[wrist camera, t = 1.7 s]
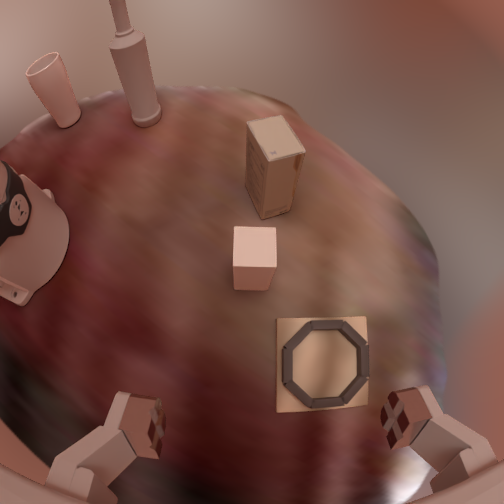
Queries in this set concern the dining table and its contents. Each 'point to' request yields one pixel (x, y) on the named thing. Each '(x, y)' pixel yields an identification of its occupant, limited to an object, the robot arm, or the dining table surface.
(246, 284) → the carton
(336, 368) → the board
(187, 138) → the dining table surface
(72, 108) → the drinking glass
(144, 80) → the bottle
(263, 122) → the skincare box
